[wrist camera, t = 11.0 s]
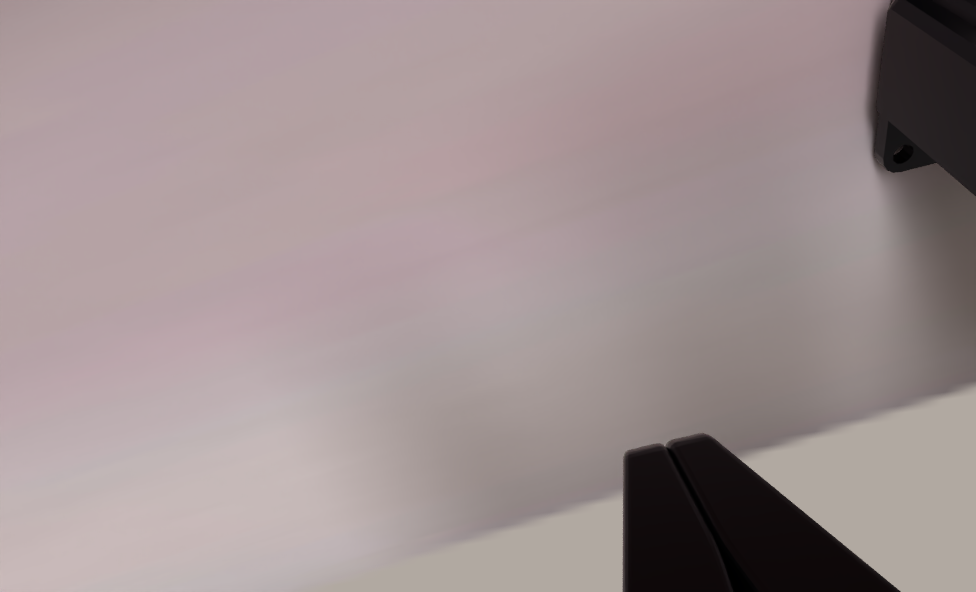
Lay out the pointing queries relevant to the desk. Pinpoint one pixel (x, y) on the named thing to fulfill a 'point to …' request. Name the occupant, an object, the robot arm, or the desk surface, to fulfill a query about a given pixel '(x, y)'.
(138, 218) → the desk surface
